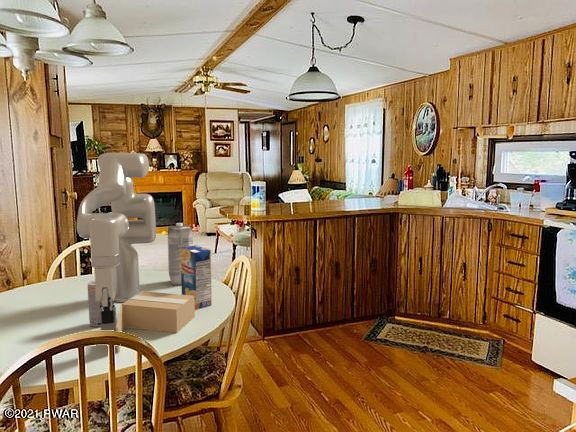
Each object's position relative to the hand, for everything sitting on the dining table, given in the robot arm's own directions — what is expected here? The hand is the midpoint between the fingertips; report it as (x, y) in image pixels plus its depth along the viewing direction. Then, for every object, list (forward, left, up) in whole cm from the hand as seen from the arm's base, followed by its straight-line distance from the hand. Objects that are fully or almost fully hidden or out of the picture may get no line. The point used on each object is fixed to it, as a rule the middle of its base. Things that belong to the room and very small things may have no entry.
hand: (108, 320), depth 128 cm
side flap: (-4, +7, -10) cm, 12 cm away
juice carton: (-10, +68, -10) cm, 69 cm away
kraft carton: (+3, +24, -10) cm, 26 cm away
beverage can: (-16, +17, -10) cm, 25 cm away
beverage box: (+8, +44, -10) cm, 46 cm away
